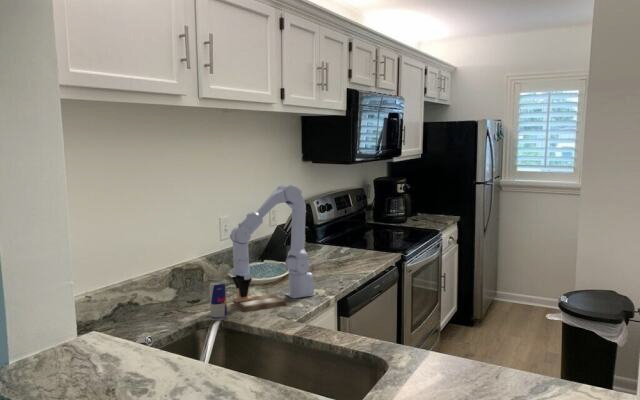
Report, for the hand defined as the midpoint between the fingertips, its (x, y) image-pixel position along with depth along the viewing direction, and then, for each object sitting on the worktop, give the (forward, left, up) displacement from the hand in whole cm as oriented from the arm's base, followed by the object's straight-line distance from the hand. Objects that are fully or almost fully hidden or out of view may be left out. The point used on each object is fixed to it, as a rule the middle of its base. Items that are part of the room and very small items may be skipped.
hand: (242, 295), depth 183 cm
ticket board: (-5, +3, -3) cm, 7 cm away
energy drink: (+13, +14, -3) cm, 20 cm away
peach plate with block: (0, 0, -1) cm, 1 cm away
